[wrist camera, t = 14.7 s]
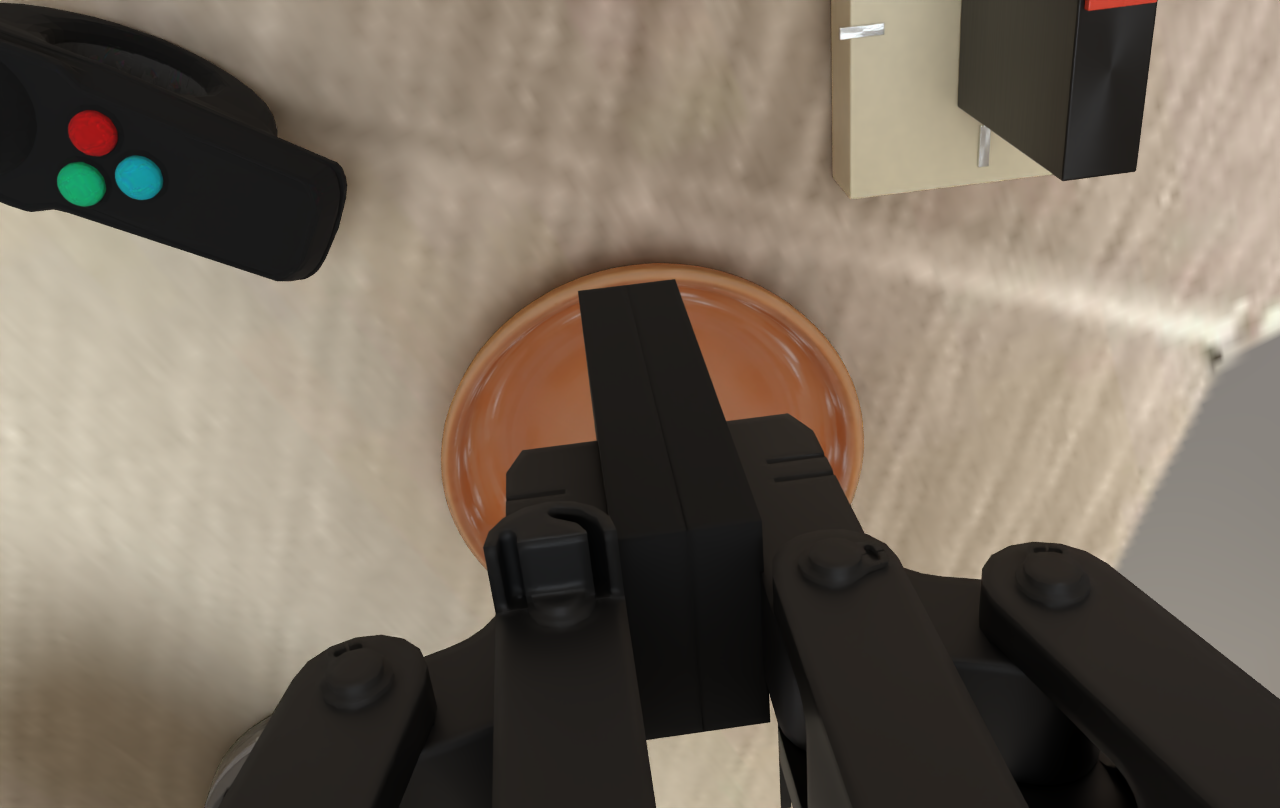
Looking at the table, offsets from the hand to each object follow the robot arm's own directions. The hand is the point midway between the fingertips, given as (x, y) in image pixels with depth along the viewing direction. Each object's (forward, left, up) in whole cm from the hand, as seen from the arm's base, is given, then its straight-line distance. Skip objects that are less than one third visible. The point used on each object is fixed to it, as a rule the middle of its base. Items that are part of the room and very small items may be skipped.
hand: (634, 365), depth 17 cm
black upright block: (+1, -13, -19) cm, 23 cm away
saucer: (-14, -1, -22) cm, 26 cm away
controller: (+1, +13, -22) cm, 26 cm away
